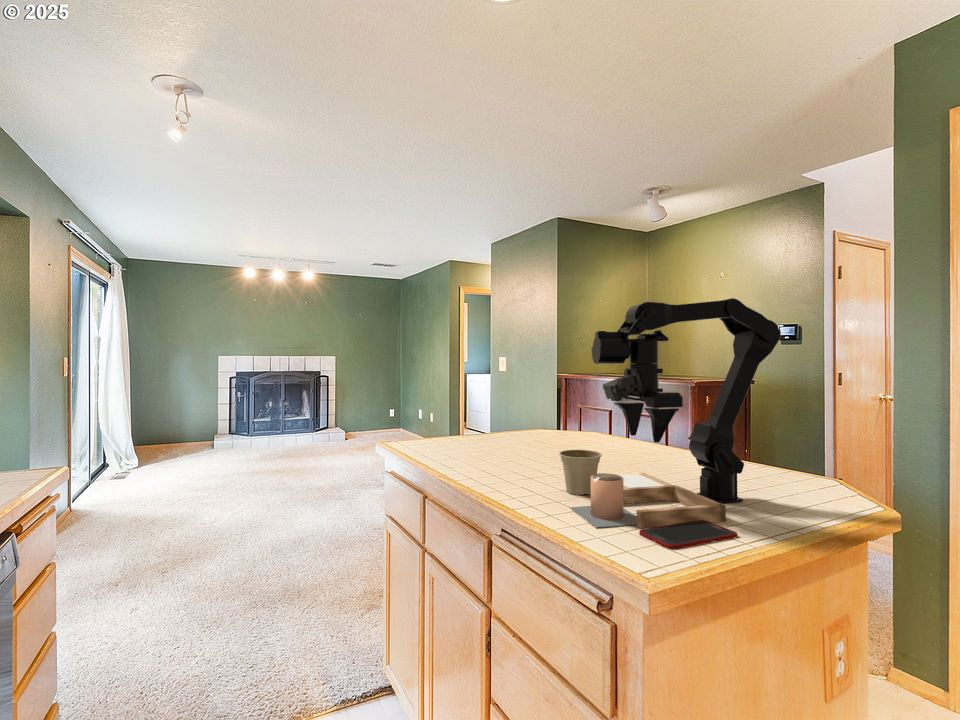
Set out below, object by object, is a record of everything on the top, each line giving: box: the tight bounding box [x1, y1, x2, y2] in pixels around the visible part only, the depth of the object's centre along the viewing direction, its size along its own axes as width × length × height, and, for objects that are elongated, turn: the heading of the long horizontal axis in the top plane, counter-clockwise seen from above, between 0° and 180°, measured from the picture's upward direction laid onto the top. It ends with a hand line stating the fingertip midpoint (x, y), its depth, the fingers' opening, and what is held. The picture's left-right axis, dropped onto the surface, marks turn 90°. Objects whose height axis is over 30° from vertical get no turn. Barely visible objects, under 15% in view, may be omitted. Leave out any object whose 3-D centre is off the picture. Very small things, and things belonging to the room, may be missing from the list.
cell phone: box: [638, 520, 738, 550], centre depth 82 cm, size 8×15×1 cm, turn 112°
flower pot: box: [558, 449, 603, 496], centre depth 110 cm, size 9×9×9 cm
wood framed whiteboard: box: [620, 472, 673, 488], centre depth 114 cm, size 17×12×1 cm
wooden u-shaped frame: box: [623, 484, 727, 529], centre depth 95 cm, size 17×15×3 cm
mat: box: [569, 505, 637, 529], centre depth 92 cm, size 10×12×1 cm
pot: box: [590, 472, 625, 520], centre depth 92 cm, size 6×6×7 cm
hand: (644, 438), depth 102 cm, fingers open, 9 cm apart
